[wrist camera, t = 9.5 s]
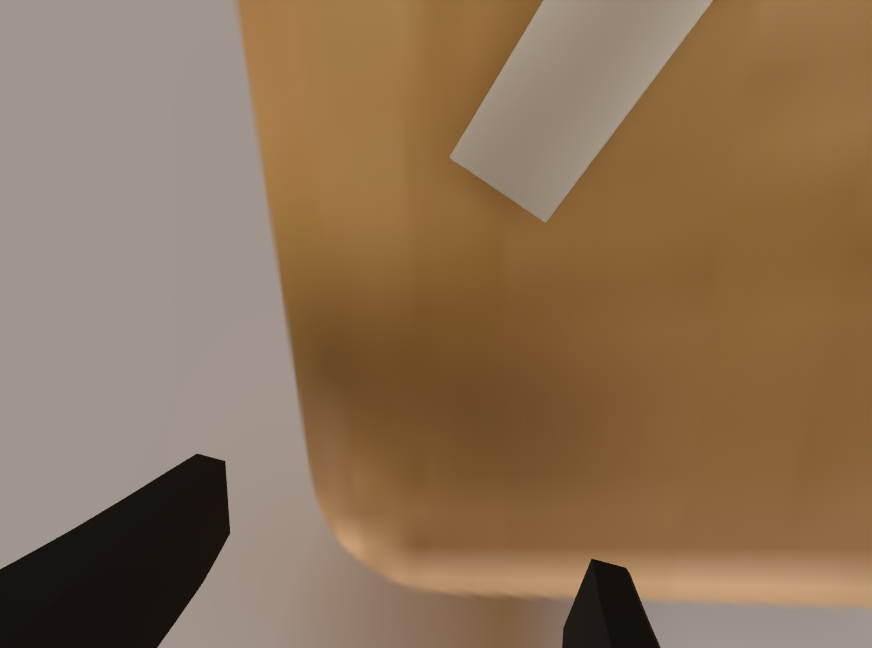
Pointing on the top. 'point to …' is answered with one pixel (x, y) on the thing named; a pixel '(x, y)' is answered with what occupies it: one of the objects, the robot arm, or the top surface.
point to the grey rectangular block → (569, 93)
